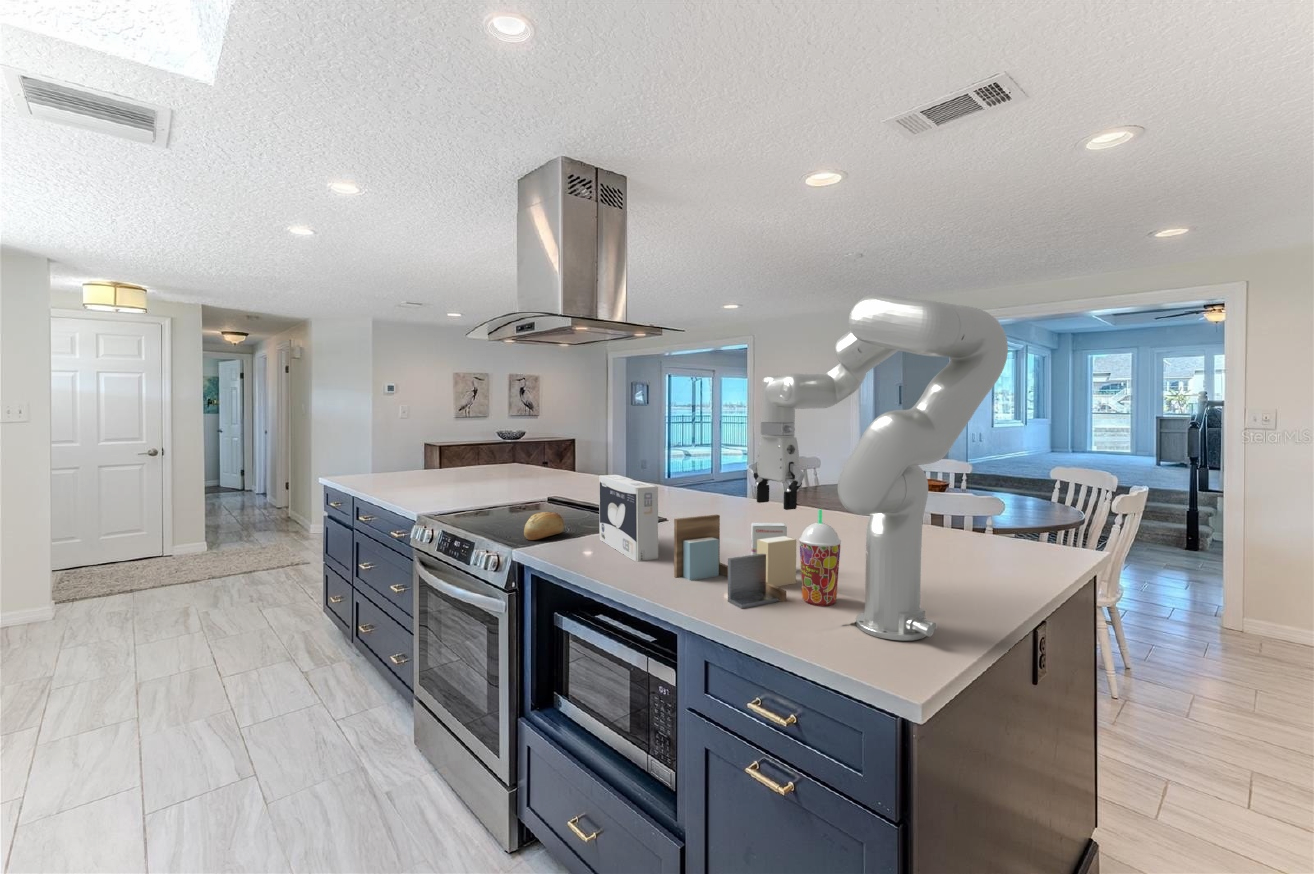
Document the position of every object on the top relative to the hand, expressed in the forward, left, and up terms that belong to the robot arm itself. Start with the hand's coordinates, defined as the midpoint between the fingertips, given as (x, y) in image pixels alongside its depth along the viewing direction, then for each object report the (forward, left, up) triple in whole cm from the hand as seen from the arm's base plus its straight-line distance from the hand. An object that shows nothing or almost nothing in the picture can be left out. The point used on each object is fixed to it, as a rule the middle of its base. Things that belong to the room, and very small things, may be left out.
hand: (776, 505), depth 135 cm
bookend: (-8, +13, -18) cm, 23 cm away
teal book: (+12, +12, -18) cm, 25 cm away
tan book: (0, 0, -19) cm, 19 cm away
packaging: (+48, +16, -19) cm, 54 cm away
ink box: (+12, -7, -19) cm, 23 cm away
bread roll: (+75, +32, -19) cm, 83 cm away
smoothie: (-14, 0, -19) cm, 24 cm away
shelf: (+2, +12, -19) cm, 22 cm away
